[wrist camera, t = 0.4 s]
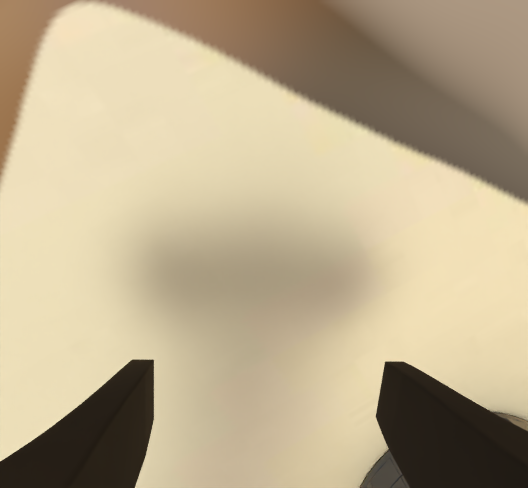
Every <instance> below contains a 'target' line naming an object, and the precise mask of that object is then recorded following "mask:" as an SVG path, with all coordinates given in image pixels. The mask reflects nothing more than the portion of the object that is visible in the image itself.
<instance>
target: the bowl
mask: <svg viewBox="0 0 528 488" xmlns="http://www.w3.org/2000/svg"><path fill="white" fill-rule="evenodd" d="M494 414H496V415H498V416H500V417H502V418H504V419H505V420H507V421H509V422H511V423H513V424H515V425H517V426H519V427H521V428H523V429H525V430H527V431H528V422H527V421H525V420H523V419H520V418H517V417H514V416H511V415H506V414H501V413H494ZM360 488H410V487H409V485H408V483H407V482H406V480H405V478H404V476H403V474H402V473H401V471H400V469H399V467H398V465H397V463H396V462H395V460H394V458H393V456H392V454H391V452H390V450H389V451H388V452H387V453H386V454H385V455H384V456H383V457H382V458H381V459H380V460H379V461H378V462H377V463H376V464H375V466H374V467H373V468H372V470H371V471H370V472H369V474H368V475H367V477H366V478H365V480H364V482H363V484H362V485H361V487H360Z"/></svg>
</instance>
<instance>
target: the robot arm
mask: <svg viewBox="0 0 528 488" xmlns="http://www.w3.org/2000/svg"><path fill="white" fill-rule="evenodd" d="M376 418H377V421H378V424H379V426H380V429H381V431H382V434H383V436H384V439H385V441H386V444H387V446H388V448H389V450H390V452H391V454H392V456H393V458H394V460H395V462H396V463H397V465H398V467H399V469H400V471H401V473H402V474H403V476H404V478H405V480H406V482H407V483H408V485H409V487H410V488H528V431H527V430H525V429H523V428H521V427H519V426H517V425H515V424H513V423H511V422H509V421H507V420H505V419H504V418H502V417H500V416H498V415H496V414H494V413H493V412H491V411H489V410H487V409H485V408H483V407H482V406H480V405H478V404H476V403H475V402H473V401H471V400H470V399H468V398H466V397H464V396H463V395H461V394H459V393H458V392H456V391H454V390H453V389H451V388H449V387H448V386H446V385H444V384H442V383H441V382H439V381H437V380H436V379H434V378H432V377H431V376H429V375H427V374H426V373H424V372H422V371H420V370H419V369H417V368H415V367H413V366H411V365H409V364H407V363H405V362H385V366H384V372H383V378H382V384H381V390H380V395H379V401H378V407H377V413H376ZM153 420H154V360H131V361H130V362H129V363H128V364H127V365H125V366H124V367H123V368H122V369H121V370H120V371H119V372H118V373H116V374H115V375H114V376H113V377H112V378H111V379H110V380H109V381H107V382H106V383H105V384H104V385H103V386H102V387H101V388H99V389H98V390H97V391H96V392H95V393H94V394H92V395H91V396H90V397H89V398H88V399H86V400H85V401H84V402H83V403H82V404H81V405H79V406H78V407H77V408H75V409H74V410H73V411H72V412H70V413H69V414H68V415H66V416H65V417H64V418H63V419H61V420H60V421H59V422H57V423H56V424H55V425H54V426H52V427H51V428H49V429H48V430H47V431H45V432H44V433H43V434H41V435H40V436H38V437H37V438H35V439H34V440H33V441H31V442H30V443H28V444H27V445H25V446H24V447H22V448H21V449H19V450H17V451H16V452H14V453H13V454H11V455H10V456H8V457H7V458H5V459H4V460H2V461H0V488H135V485H136V482H137V479H138V476H139V473H140V470H141V467H142V465H143V462H144V458H145V455H146V451H147V447H148V443H149V439H150V434H151V429H152V425H153Z"/></svg>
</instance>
